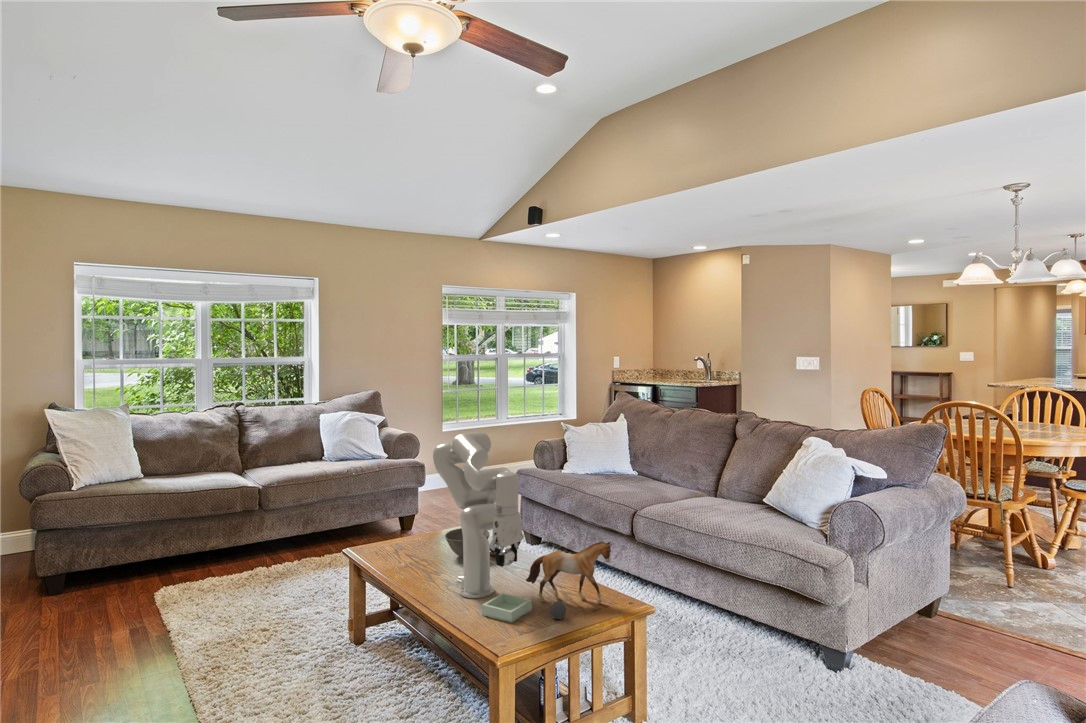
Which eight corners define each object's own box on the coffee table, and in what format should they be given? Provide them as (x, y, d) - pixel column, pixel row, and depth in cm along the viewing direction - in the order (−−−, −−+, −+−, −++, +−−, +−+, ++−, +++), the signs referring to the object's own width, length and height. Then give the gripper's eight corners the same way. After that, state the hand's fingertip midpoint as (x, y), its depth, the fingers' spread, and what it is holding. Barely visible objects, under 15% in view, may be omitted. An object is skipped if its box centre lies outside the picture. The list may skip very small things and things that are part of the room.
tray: (481, 615, 215) (481, 604, 215) (503, 602, 225) (503, 592, 225) (511, 623, 209) (511, 612, 209) (531, 610, 219) (531, 599, 219)
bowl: (440, 554, 279) (439, 531, 279) (481, 547, 287) (481, 525, 287) (452, 567, 262) (452, 542, 262) (496, 560, 270) (496, 536, 270)
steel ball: (495, 565, 216) (495, 549, 216) (504, 560, 220) (504, 544, 220) (508, 569, 213) (508, 552, 213) (518, 564, 218) (518, 548, 217)
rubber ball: (546, 619, 211) (546, 602, 211) (555, 613, 216) (555, 597, 216) (561, 623, 208) (560, 606, 208) (569, 617, 213) (569, 600, 213)
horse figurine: (613, 598, 228) (612, 540, 228) (612, 607, 221) (611, 547, 220) (526, 594, 233) (525, 537, 233) (522, 602, 226) (521, 543, 225)
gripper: (495, 517, 207) (495, 573, 208) (532, 506, 220) (532, 559, 220) (480, 512, 212) (479, 567, 213) (517, 502, 225) (516, 554, 226)
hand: (506, 562), depth 217 cm, fingers closed on steel ball, 5 cm apart
